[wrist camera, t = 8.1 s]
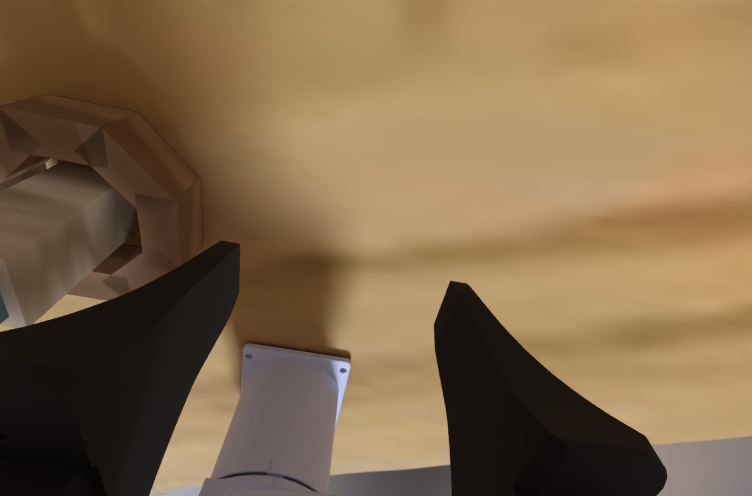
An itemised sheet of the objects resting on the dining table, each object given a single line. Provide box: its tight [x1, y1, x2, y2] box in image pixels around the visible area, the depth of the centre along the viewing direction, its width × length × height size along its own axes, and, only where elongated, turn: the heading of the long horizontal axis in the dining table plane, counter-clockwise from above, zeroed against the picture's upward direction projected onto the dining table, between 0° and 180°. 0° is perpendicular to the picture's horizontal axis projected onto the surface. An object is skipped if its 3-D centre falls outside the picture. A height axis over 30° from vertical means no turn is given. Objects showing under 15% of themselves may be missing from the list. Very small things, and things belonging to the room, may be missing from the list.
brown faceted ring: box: [0, 94, 203, 301], centre depth 21 cm, size 10×10×3 cm
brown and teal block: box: [0, 161, 139, 328], centre depth 18 cm, size 4×4×10 cm
